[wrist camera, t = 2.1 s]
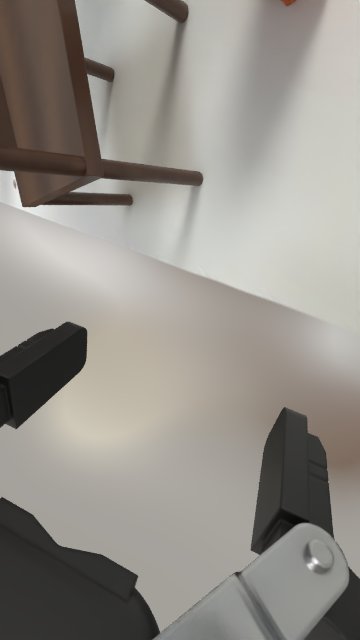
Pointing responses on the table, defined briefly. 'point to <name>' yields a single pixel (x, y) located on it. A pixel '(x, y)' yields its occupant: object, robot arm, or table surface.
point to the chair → (60, 108)
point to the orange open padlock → (288, 2)
